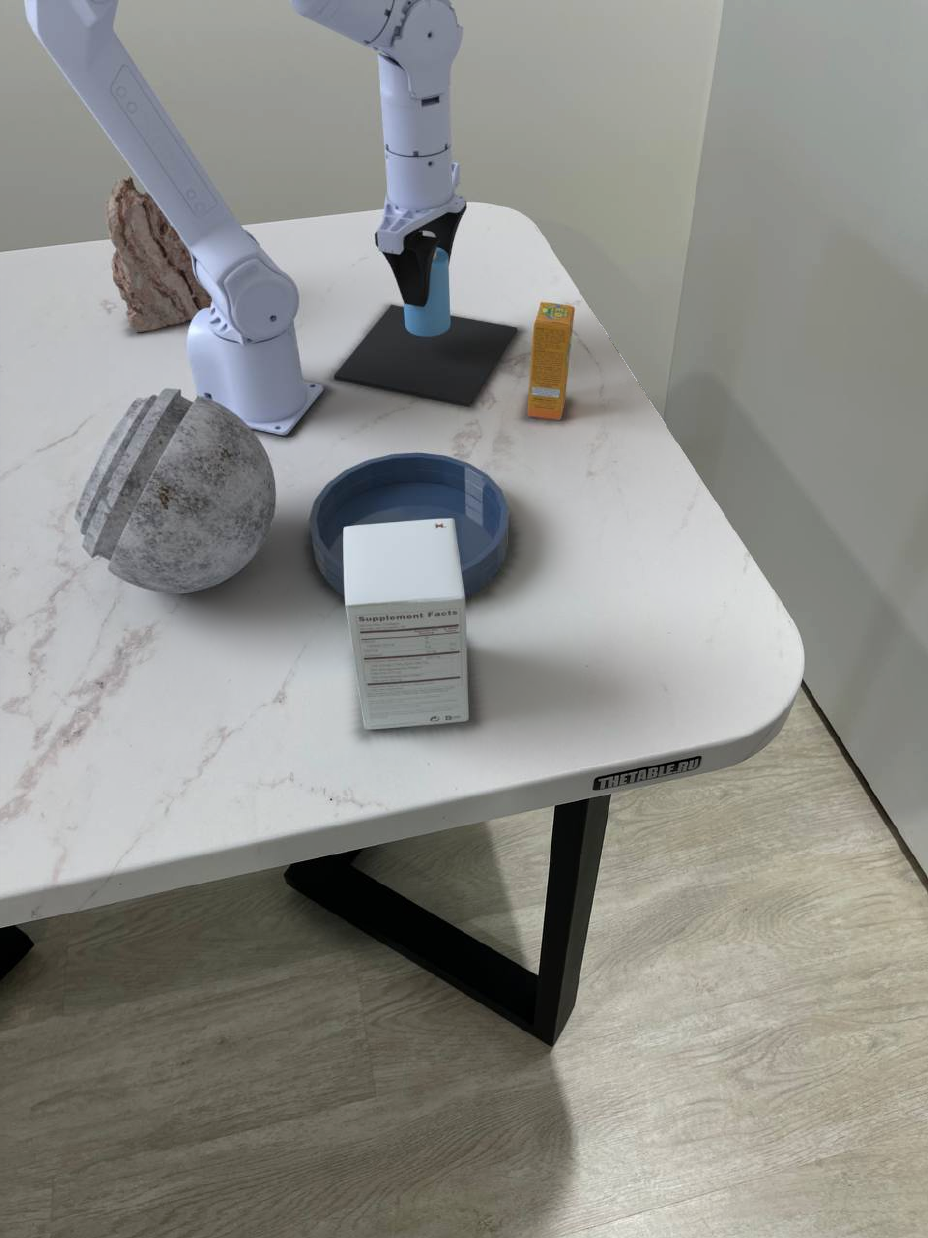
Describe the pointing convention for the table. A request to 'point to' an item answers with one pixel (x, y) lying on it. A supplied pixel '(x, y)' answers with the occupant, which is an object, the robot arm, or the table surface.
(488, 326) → the mat
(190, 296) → the stone
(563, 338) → the supplement box
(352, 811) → the table surface
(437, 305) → the bottle
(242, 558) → the decorative orb
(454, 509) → the bowl
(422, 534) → the white packaging box
